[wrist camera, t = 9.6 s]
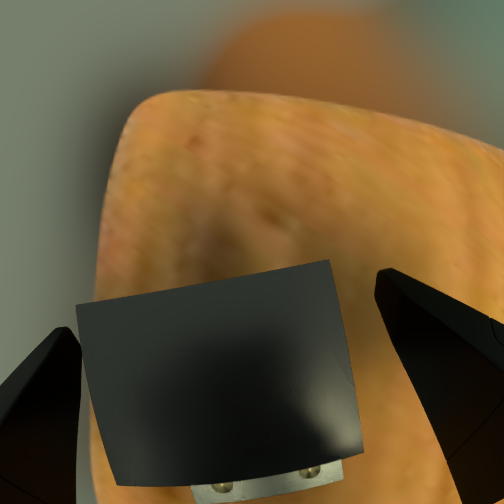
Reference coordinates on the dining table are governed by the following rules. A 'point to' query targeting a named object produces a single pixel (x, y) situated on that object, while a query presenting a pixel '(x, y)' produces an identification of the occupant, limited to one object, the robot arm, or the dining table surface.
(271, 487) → the fixed hinge leaf
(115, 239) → the dining table surface
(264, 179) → the dining table surface
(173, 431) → the dark grey block
